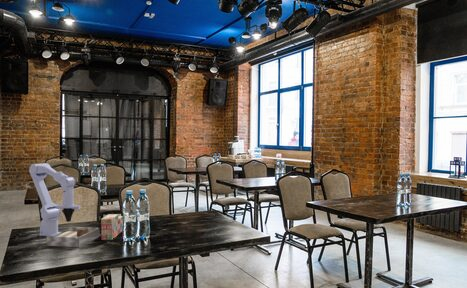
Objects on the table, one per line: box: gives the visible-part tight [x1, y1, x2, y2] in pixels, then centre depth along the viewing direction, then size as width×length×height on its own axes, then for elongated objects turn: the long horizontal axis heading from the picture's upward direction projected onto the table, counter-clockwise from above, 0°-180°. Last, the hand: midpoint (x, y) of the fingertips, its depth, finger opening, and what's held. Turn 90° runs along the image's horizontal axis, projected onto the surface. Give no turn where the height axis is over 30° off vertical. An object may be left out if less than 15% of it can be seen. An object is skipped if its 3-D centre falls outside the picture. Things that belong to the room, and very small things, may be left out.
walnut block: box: [77, 227, 89, 237], centre depth 207 cm, size 4×4×4 cm
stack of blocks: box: [100, 213, 124, 241], centre depth 221 cm, size 21×6×12 cm, turn 0°
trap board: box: [46, 226, 101, 248], centre depth 208 cm, size 19×21×5 cm
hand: (68, 221), depth 215 cm, fingers closed
